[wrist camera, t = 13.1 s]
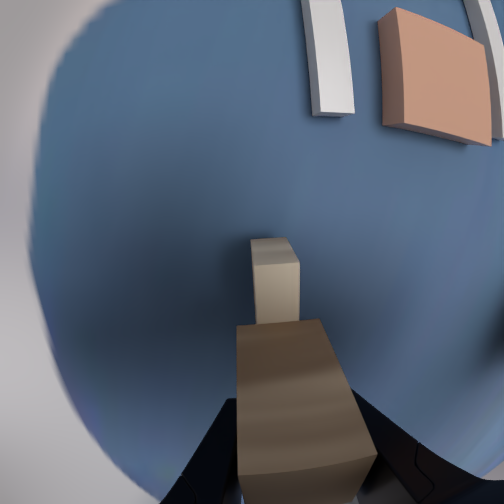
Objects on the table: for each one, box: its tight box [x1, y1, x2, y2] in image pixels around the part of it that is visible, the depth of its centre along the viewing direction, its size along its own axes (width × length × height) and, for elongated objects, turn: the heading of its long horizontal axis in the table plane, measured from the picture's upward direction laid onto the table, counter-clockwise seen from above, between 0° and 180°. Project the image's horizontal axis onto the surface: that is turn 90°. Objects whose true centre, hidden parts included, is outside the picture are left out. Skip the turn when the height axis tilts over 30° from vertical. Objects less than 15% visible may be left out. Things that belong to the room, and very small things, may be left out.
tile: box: [377, 7, 491, 146], centre depth 11 cm, size 6×6×2 cm
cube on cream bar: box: [237, 237, 377, 504], centre depth 10 cm, size 8×3×9 cm, turn 3°
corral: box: [301, 0, 504, 141], centre depth 10 cm, size 13×12×2 cm
